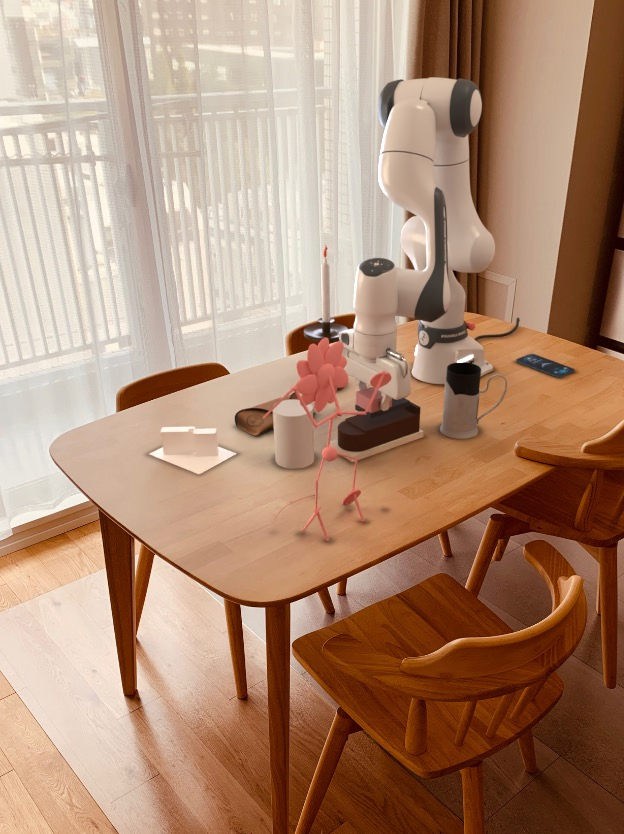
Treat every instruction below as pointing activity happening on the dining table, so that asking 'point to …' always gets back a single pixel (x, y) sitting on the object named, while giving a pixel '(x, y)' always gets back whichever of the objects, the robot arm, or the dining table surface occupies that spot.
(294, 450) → the cup
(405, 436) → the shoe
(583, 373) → the dining table surface
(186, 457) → the napkin holder
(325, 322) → the candlestick
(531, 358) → the smartphone
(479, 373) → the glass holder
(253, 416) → the sunglasses case
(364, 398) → the two-tone stepped block
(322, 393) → the figurine
